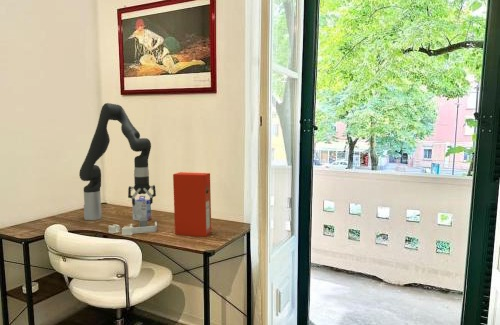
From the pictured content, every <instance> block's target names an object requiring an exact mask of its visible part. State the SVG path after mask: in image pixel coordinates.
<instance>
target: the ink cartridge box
mask: <svg viewBox="0 0 500 325" xmlns="http://www.w3.org/2000/svg"><path fill="white" fill-rule="evenodd" d="M131 205H132V204H131ZM151 205H152V204H151ZM151 205H150V199H146V195H139V197H138V198H136V199H135V206H133V205H132V221H139V220H140V218H147V221H149V220H152V206H151Z"/></svg>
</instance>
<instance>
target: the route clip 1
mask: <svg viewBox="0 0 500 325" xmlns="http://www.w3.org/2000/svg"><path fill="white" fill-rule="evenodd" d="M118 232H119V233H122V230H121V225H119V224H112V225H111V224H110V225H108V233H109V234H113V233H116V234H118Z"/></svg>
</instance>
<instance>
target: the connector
mask: <svg viewBox="0 0 500 325" xmlns="http://www.w3.org/2000/svg"><path fill="white" fill-rule="evenodd" d="M138 221H139V227H146V226H148V220H147V218H140V220H138Z"/></svg>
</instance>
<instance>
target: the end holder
mask: <svg viewBox="0 0 500 325" xmlns="http://www.w3.org/2000/svg"><path fill="white" fill-rule="evenodd" d="M129 227H133V228H132V233H133V234H132V235H134V234H143V233H154V232H158V222H157V221H154V225H147V226H146V227H140V226H137V227H134V226H133V223H130V225H129Z"/></svg>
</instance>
